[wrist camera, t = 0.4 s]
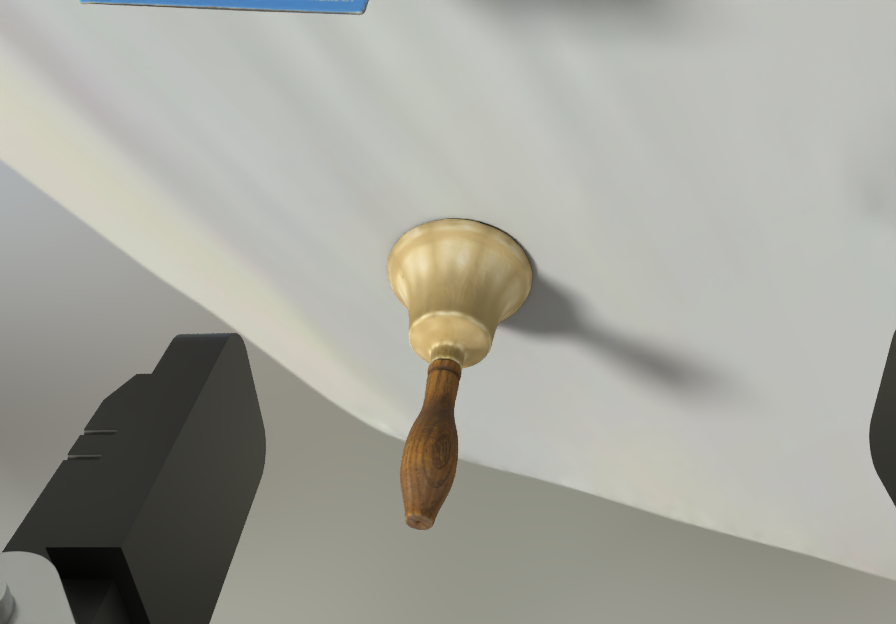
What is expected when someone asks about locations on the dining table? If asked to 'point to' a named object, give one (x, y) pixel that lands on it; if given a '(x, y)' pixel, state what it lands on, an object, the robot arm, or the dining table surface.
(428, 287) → the hand bell
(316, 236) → the dining table surface
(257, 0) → the label tape cartridge
